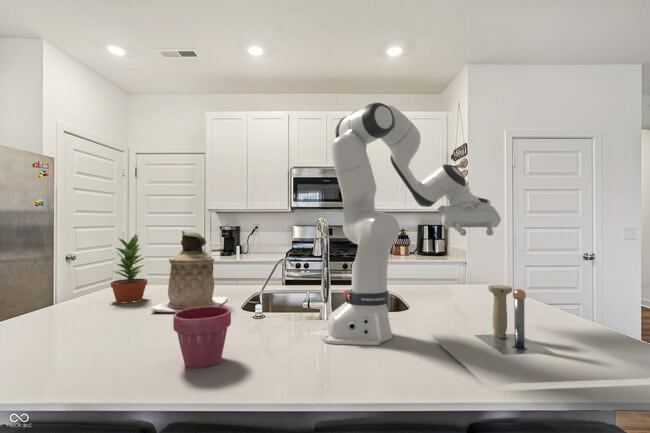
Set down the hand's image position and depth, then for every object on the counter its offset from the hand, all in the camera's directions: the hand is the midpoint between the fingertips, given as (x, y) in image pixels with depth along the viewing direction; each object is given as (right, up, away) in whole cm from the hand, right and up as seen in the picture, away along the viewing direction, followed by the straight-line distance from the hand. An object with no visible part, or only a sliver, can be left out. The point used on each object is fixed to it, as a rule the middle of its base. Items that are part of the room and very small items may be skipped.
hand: (477, 234), depth 124 cm
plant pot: (-83, -32, -29) cm, 93 cm away
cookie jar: (-108, -32, +31) cm, 116 cm away
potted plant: (-139, -32, +41) cm, 149 cm away
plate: (+1, -31, -19) cm, 37 cm away
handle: (+1, -30, -14) cm, 33 cm away
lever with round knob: (+2, -30, -23) cm, 38 cm away
